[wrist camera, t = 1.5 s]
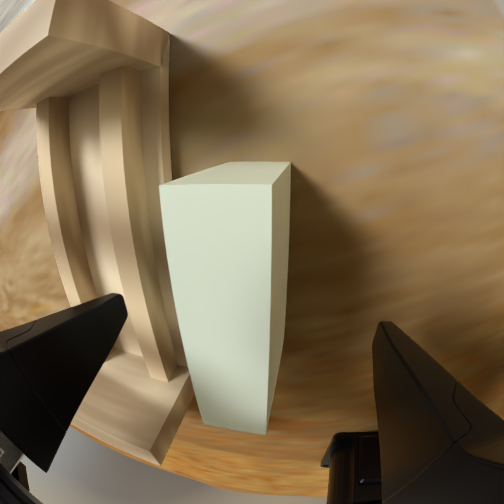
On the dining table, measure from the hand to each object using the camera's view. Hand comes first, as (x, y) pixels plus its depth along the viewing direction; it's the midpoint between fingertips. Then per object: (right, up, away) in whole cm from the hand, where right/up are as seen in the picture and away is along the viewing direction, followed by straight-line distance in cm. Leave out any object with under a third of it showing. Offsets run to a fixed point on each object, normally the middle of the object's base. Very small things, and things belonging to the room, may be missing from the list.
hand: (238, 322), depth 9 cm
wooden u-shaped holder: (-7, +3, +5) cm, 9 cm away
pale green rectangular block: (+1, +2, +4) cm, 5 cm away
